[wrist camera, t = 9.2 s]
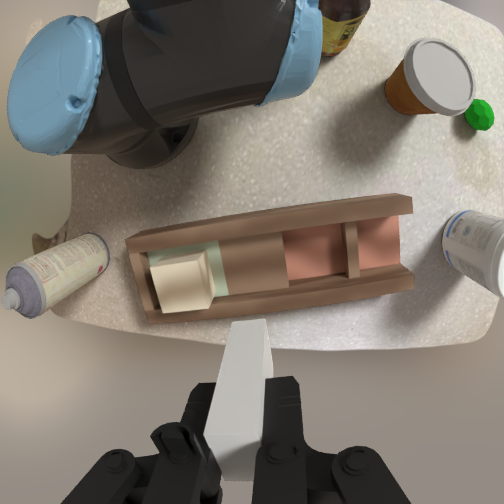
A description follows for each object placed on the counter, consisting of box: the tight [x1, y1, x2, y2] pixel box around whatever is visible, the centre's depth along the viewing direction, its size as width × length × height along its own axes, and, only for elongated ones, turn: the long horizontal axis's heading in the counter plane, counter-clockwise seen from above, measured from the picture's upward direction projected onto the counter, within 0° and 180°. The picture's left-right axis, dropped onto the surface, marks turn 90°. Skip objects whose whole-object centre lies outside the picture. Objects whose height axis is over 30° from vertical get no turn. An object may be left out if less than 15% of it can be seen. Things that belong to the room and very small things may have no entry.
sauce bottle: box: [318, 0, 371, 56], centre depth 23 cm, size 7×6×20 cm
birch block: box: [150, 249, 216, 313], centre depth 37 cm, size 6×6×5 cm
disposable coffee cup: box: [385, 38, 476, 116], centre depth 28 cm, size 10×10×12 cm
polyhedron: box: [465, 99, 494, 131], centre depth 31 cm, size 5×5×5 cm
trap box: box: [125, 193, 414, 324], centre depth 38 cm, size 12×36×6 cm, turn 99°
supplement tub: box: [442, 210, 504, 299], centre depth 31 cm, size 10×10×15 cm
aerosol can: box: [1, 233, 110, 319], centre depth 34 cm, size 7×7×20 cm
